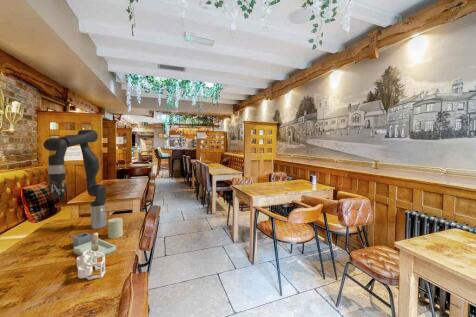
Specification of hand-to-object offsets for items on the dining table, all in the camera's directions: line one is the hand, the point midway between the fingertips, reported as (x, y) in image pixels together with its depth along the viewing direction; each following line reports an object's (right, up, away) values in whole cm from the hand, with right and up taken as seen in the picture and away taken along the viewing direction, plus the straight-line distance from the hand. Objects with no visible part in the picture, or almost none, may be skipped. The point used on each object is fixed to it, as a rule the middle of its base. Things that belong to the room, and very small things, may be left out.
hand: (58, 199), depth 123 cm
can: (+21, -31, +23) cm, 44 cm away
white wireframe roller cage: (+32, -33, -18) cm, 49 cm away
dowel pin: (+21, -31, +1) cm, 37 cm away
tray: (+22, -32, +1) cm, 38 cm away
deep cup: (+8, -31, +9) cm, 33 cm away
